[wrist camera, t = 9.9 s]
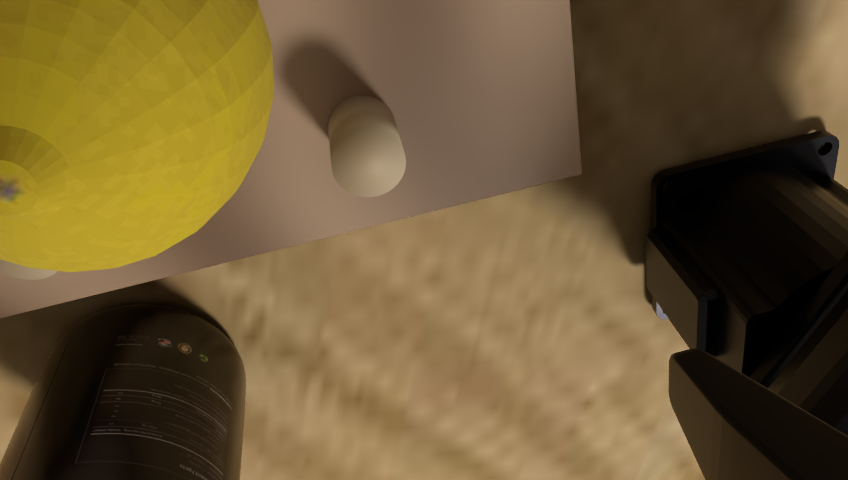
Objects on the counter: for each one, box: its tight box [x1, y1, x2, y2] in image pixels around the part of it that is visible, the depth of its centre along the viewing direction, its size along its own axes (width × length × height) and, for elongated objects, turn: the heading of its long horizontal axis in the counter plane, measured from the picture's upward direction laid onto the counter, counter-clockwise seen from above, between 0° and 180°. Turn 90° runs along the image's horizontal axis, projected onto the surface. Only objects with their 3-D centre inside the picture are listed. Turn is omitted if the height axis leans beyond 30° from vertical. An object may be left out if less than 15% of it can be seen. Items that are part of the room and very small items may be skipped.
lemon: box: [0, 0, 274, 272], centre depth 11 cm, size 6×6×8 cm
